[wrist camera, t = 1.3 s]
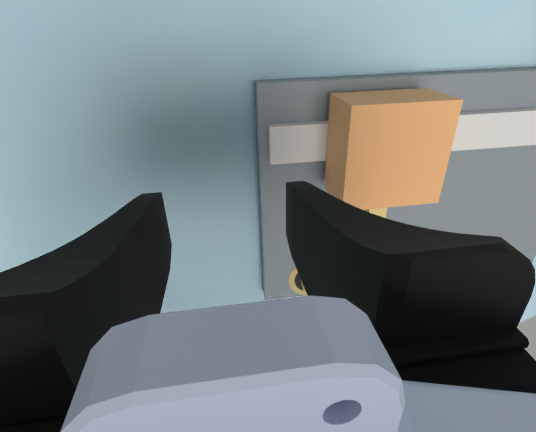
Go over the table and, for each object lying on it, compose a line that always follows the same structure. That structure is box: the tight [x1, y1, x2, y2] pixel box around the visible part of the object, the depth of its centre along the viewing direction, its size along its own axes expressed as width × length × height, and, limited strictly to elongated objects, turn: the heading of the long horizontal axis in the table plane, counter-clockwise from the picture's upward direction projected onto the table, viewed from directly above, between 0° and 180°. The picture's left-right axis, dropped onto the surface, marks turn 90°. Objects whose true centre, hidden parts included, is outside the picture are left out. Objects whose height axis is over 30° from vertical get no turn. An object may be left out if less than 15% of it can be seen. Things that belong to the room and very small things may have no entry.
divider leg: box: [325, 88, 464, 218], centre depth 19 cm, size 5×12×3 cm, turn 1°
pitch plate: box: [255, 67, 536, 300], centre depth 21 cm, size 20×14×2 cm
